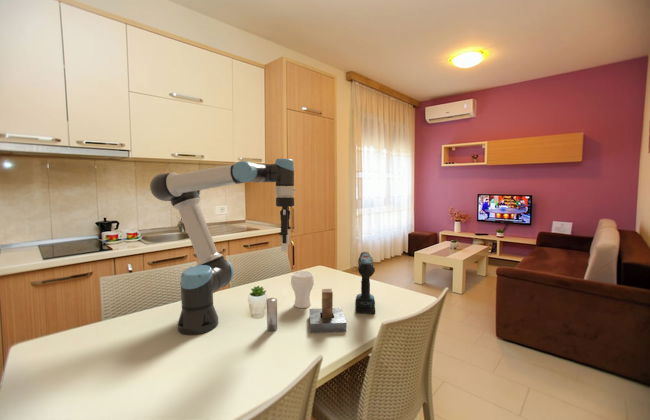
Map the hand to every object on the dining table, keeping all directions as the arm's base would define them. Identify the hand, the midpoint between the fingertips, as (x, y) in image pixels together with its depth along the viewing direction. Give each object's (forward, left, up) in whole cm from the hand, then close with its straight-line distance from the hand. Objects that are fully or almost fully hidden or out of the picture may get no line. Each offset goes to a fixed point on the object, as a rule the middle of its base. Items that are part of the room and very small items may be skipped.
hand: (285, 247), depth 124 cm
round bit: (-5, -9, -31) cm, 32 cm away
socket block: (+17, -6, -31) cm, 36 cm away
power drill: (+36, +9, -31) cm, 48 cm away
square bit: (+17, -6, -31) cm, 36 cm away
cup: (+7, +14, -31) cm, 35 cm away
